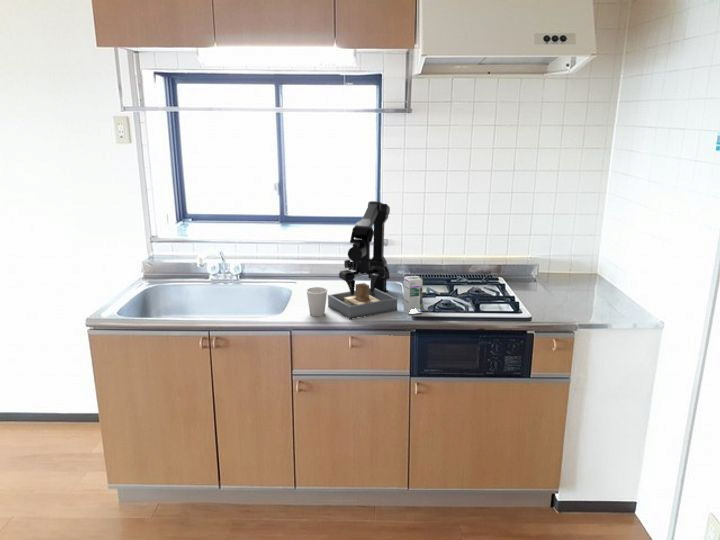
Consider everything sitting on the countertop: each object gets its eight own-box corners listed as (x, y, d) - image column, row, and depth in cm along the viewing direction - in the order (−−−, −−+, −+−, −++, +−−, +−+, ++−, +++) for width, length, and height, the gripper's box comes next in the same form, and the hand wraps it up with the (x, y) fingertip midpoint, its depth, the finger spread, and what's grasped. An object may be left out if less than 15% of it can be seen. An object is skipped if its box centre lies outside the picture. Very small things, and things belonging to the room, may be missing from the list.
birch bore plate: (366, 300, 226) (366, 293, 225) (380, 307, 217) (381, 300, 216) (343, 304, 221) (343, 297, 220) (357, 312, 211) (357, 305, 211)
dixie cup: (309, 310, 217) (309, 286, 214) (329, 311, 215) (329, 287, 213) (304, 317, 209) (303, 292, 206) (325, 318, 207) (325, 293, 205)
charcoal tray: (373, 298, 232) (373, 287, 231) (396, 310, 217) (397, 298, 216) (328, 306, 221) (328, 295, 220) (349, 319, 206) (349, 307, 205)
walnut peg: (363, 303, 221) (364, 283, 219) (368, 306, 218) (369, 285, 216) (355, 305, 220) (355, 284, 217) (360, 308, 216) (360, 286, 214)
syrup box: (408, 315, 211) (409, 280, 208) (403, 310, 217) (404, 276, 213) (421, 314, 213) (423, 278, 209) (416, 309, 218) (417, 275, 215)
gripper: (371, 249, 225) (371, 285, 229) (332, 254, 215) (332, 291, 219) (386, 254, 215) (385, 292, 219) (346, 260, 206) (345, 299, 210)
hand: (362, 293), depth 217 cm, fingers open, 9 cm apart
